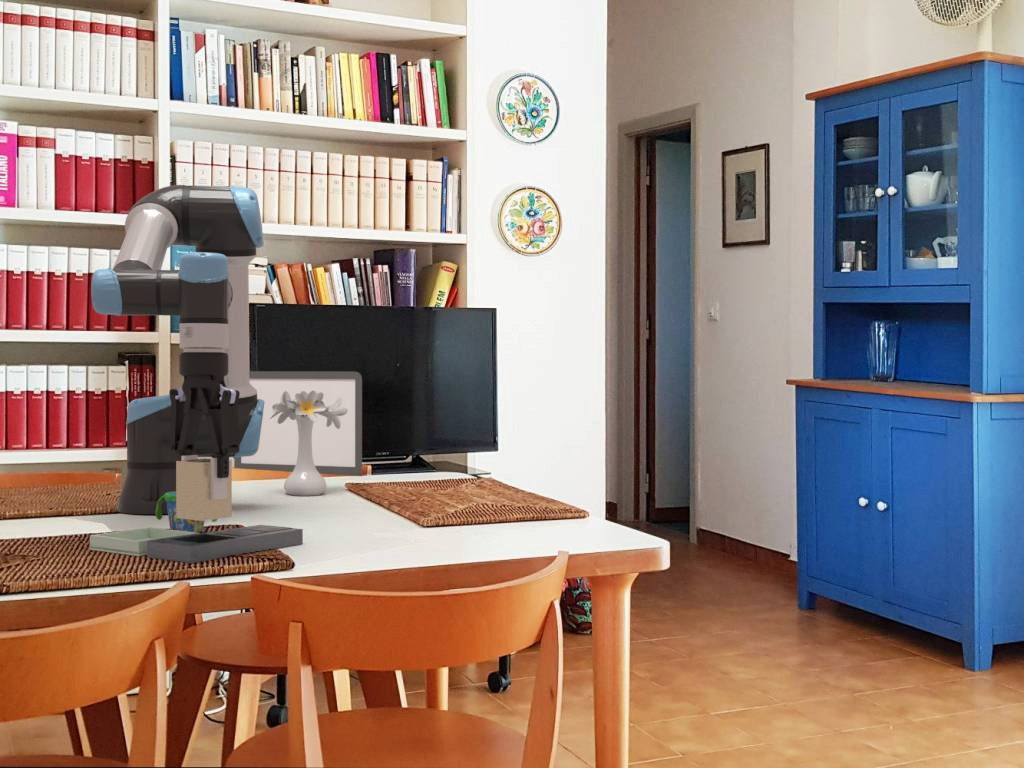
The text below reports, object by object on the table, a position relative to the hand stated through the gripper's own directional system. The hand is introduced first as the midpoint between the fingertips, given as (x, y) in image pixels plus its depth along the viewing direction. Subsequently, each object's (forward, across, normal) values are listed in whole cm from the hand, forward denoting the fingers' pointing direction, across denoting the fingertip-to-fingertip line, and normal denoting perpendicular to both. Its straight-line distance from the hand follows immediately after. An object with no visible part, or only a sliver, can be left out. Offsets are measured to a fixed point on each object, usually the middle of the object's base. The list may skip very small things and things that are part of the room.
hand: (204, 497), depth 186 cm
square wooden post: (+3, 0, 0) cm, 3 cm away
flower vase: (+10, -41, +66) cm, 79 cm away
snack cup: (+9, -20, +14) cm, 26 cm away
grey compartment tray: (+9, 0, +5) cm, 10 cm away
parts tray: (+9, -13, -1) cm, 16 cm away
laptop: (+10, -69, +83) cm, 108 cm away
